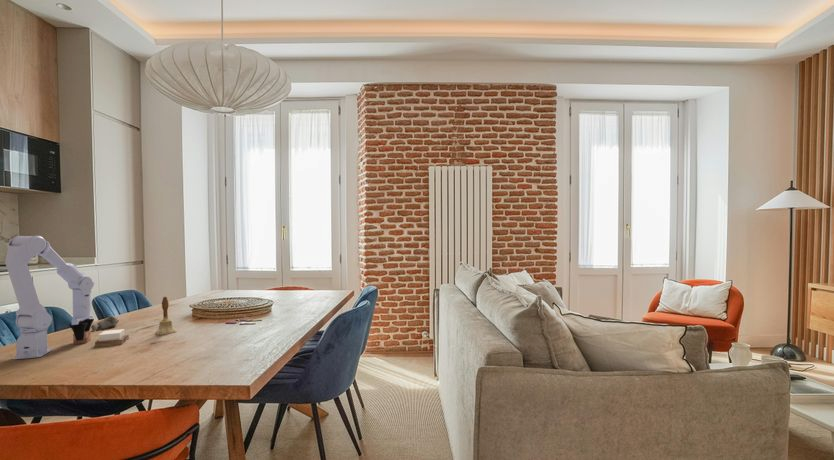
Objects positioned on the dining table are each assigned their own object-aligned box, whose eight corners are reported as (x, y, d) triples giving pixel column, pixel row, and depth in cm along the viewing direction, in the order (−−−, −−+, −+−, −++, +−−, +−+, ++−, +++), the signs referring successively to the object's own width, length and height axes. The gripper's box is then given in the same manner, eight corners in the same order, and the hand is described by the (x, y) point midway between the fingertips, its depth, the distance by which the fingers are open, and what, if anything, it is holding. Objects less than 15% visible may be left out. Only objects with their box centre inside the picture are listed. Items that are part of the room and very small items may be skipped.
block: (86, 342, 170) (86, 333, 170) (73, 344, 169) (73, 334, 169) (90, 340, 175) (90, 330, 175) (77, 341, 173) (77, 331, 173)
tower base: (122, 345, 168) (122, 339, 168) (95, 348, 164) (95, 342, 164) (128, 340, 176) (128, 334, 176) (103, 342, 173) (102, 336, 173)
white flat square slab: (119, 339, 168) (119, 332, 168) (98, 341, 166) (98, 334, 166) (124, 334, 175) (124, 329, 175) (104, 336, 172) (104, 330, 172)
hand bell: (174, 333, 184) (174, 297, 184) (152, 335, 181) (152, 298, 181) (177, 329, 192) (177, 294, 192) (156, 331, 189) (156, 296, 189)
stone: (92, 333, 190) (107, 321, 191) (86, 324, 191) (101, 312, 192) (109, 334, 199) (123, 322, 200) (103, 325, 201) (117, 314, 202)
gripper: (86, 307, 166) (87, 342, 166) (99, 302, 180) (100, 333, 180) (64, 309, 164) (65, 344, 164) (79, 303, 177) (80, 335, 177)
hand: (82, 338), depth 172 cm, fingers closed on block, 4 cm apart
